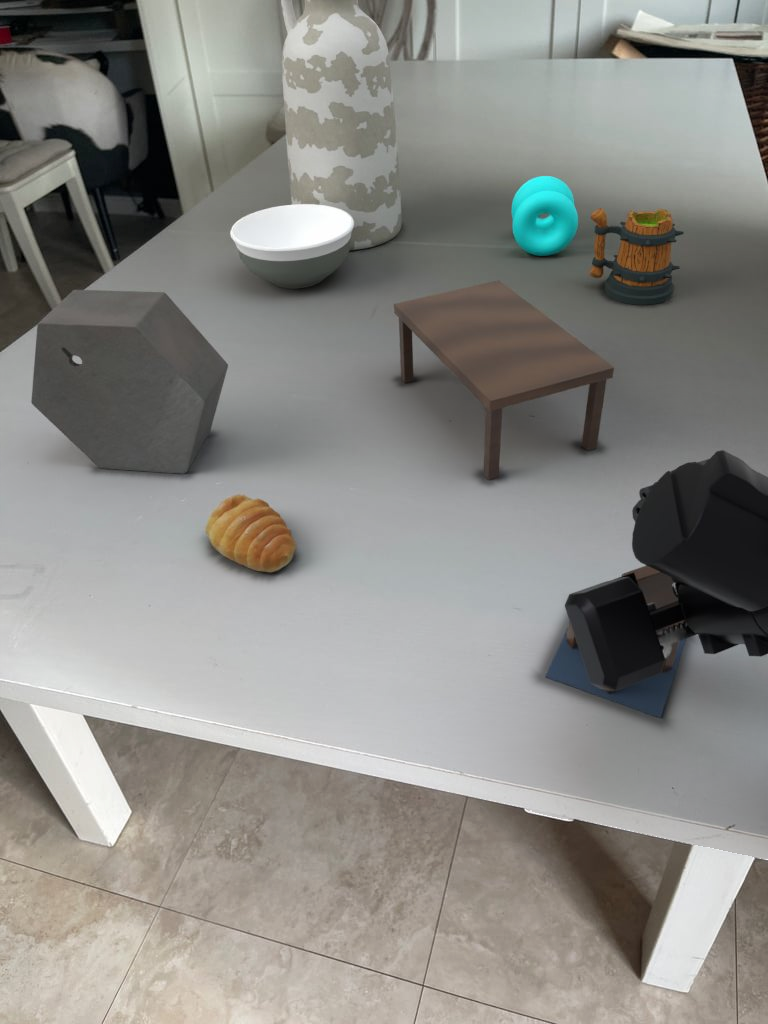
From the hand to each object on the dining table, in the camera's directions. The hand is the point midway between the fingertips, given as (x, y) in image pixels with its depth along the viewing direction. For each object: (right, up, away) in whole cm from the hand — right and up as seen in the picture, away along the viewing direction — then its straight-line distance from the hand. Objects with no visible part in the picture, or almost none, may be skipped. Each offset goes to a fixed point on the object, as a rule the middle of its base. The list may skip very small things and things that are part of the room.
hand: (639, 601), depth 60 cm
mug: (+17, +39, +58) cm, 71 cm away
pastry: (-31, +3, +18) cm, 37 cm away
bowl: (-32, +43, +67) cm, 86 cm away
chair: (0, -5, +5) cm, 7 cm away
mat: (0, -5, +5) cm, 7 cm away
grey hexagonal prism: (-45, +13, +31) cm, 57 cm away
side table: (-6, +18, +34) cm, 39 cm away
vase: (-26, +56, +81) cm, 102 cm away
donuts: (+7, +50, +71) cm, 87 cm away
